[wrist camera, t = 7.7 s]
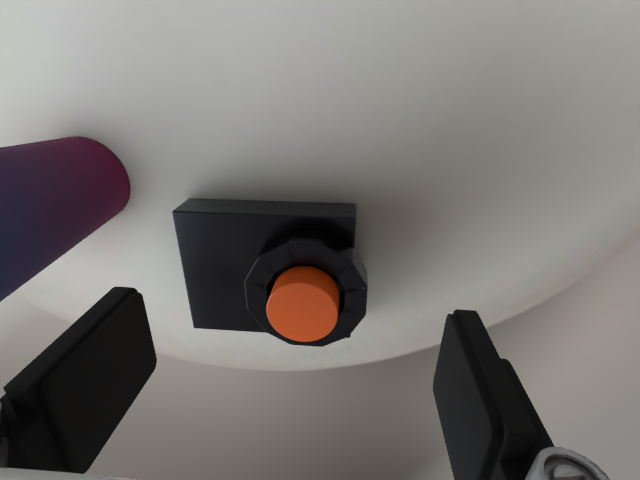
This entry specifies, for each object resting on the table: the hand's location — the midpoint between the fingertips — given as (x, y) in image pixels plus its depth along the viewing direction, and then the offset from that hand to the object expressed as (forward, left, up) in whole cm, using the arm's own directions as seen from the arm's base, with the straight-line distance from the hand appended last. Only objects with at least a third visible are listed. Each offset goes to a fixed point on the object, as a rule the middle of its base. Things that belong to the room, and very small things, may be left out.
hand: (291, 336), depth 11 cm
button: (+1, +4, -8) cm, 9 cm away
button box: (+3, +4, -11) cm, 12 cm away
